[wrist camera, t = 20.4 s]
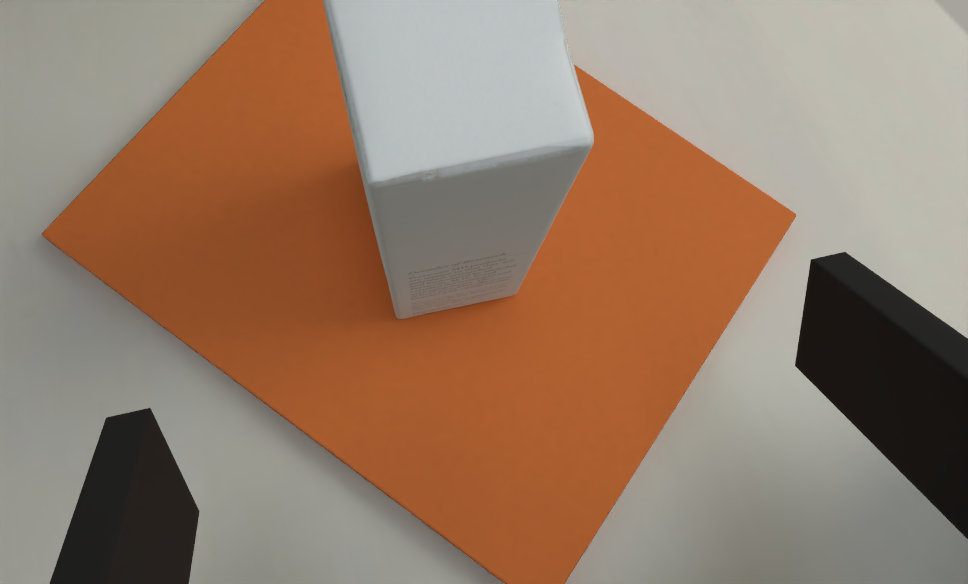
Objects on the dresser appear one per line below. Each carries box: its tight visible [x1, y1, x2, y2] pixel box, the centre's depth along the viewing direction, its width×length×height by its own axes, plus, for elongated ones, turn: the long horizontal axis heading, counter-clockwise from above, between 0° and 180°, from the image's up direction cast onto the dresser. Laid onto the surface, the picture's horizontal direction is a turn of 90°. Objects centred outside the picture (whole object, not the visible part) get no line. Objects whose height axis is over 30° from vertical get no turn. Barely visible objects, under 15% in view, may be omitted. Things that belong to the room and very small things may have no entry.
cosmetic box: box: [323, 0, 594, 319], centre depth 19 cm, size 6×4×12 cm
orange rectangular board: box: [42, 0, 796, 584], centre depth 25 cm, size 20×16×1 cm
